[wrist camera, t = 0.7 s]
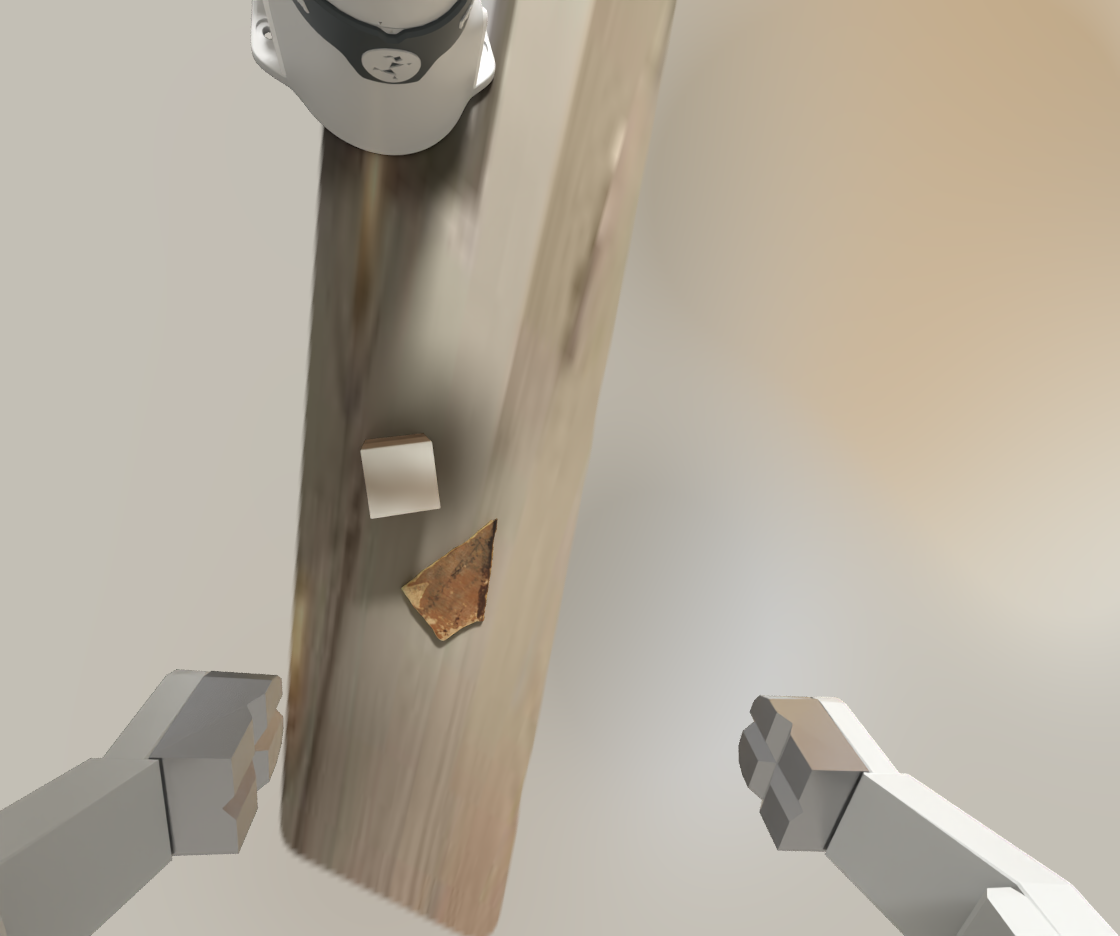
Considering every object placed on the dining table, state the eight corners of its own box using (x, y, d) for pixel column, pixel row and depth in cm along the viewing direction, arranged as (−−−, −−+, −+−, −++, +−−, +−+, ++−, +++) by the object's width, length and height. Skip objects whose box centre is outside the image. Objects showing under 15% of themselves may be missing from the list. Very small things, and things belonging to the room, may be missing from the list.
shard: (494, 515, 53) (497, 519, 52) (535, 575, 55) (540, 581, 54) (398, 583, 52) (398, 589, 50) (445, 642, 54) (446, 650, 52)
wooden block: (365, 439, 49) (360, 450, 39) (423, 433, 50) (431, 442, 41) (373, 495, 49) (370, 519, 40) (430, 487, 51) (440, 508, 41)
